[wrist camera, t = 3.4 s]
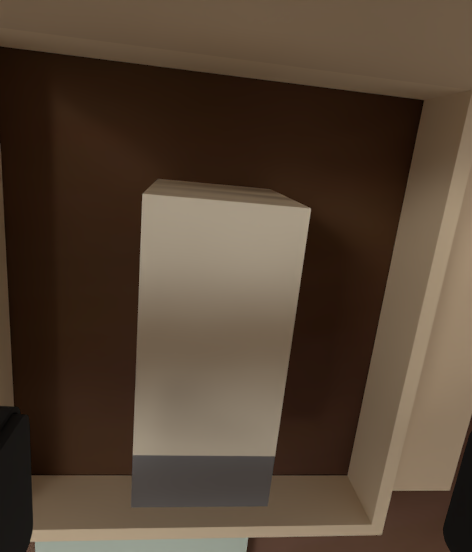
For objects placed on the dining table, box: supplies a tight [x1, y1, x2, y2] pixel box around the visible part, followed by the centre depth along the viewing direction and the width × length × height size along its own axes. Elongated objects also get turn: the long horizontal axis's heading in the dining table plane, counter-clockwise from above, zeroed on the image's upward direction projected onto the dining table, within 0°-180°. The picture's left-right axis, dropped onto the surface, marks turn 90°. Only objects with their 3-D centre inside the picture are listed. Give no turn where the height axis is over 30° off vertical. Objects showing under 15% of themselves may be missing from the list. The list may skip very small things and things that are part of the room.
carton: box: [0, 0, 472, 542], centre depth 13 cm, size 19×22×12 cm
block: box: [131, 179, 311, 508], centre depth 15 cm, size 10×4×6 cm, turn 174°
